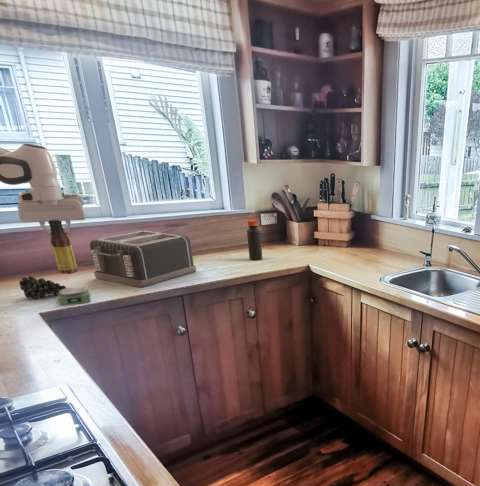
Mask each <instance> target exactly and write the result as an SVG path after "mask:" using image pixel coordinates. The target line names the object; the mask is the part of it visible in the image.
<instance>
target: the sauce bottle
mask: <svg viewBox="0 0 480 486" xmlns="http://www.w3.org/2000/svg"><path fill="white" fill-rule="evenodd" d="M62 222H63V221H59V220H49V222H47V223H48V225H49V229H50V230H51V234H50V246H51V249H52V252H53V253H52V254H53V256H54V259H55V263H56V266H57V270H58V273H60V274H63V275H72V274H75V273H77V272H78V265H77V261H76V258H75V254H74V249H73V246H72V243H71V240H70V237H69V236H68V235H67V234H65V231H64V227H63V225H62Z"/></svg>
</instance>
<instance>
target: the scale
mask: <svg viewBox="0 0 480 486" xmlns="http://www.w3.org/2000/svg"><path fill="white" fill-rule="evenodd" d="M86 288H87V290H88V291H87V292H85V293H83V294H79V295H72V296H64V295H60V293H59V294H58V297H57V299H58V303H59V306H60V305H61V306H68V305H69V304H70V305H78V304H87V303H88V304H89V303H91V299H92V298H91V297H92V294H91V290H90V287H86ZM70 305H69V306H70Z"/></svg>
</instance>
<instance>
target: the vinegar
mask: <svg viewBox="0 0 480 486" xmlns="http://www.w3.org/2000/svg"><path fill="white" fill-rule="evenodd" d="M258 225H259V223H258V220H257V219H251V220H247V226H248V228H247V230H246V236H247V245H248V257H249V260H250V261H261V260H263V249H262V236H261V230H260V229H259V228H258Z"/></svg>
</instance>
